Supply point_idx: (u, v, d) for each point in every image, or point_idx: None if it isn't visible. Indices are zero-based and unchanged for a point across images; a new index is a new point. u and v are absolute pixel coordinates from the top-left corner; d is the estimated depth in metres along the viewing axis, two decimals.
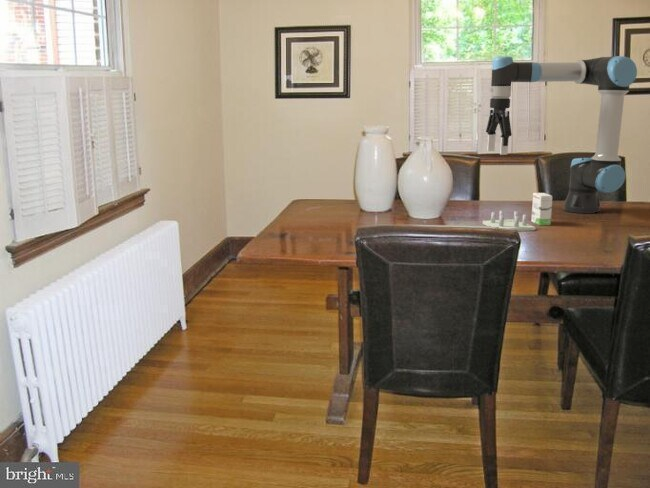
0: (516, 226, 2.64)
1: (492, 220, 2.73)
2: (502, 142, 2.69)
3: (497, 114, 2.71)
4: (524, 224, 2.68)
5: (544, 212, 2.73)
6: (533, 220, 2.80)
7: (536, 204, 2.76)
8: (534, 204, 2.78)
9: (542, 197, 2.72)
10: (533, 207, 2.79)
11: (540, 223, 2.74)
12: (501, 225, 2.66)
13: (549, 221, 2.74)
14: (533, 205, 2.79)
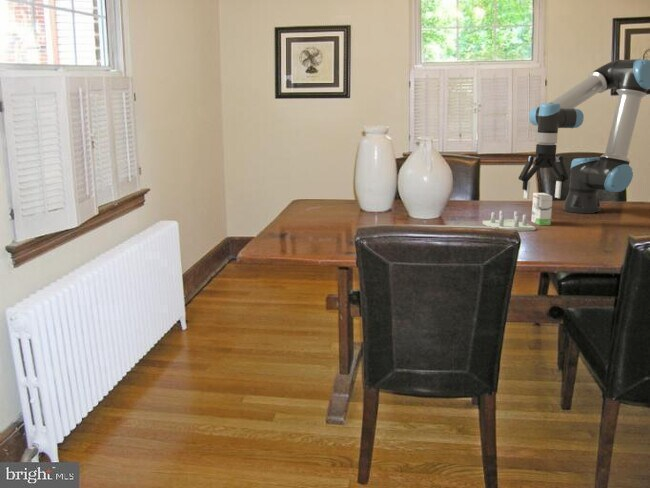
0: (516, 226, 2.64)
1: (492, 220, 2.73)
2: None
3: None
4: (524, 224, 2.68)
5: (544, 212, 2.73)
6: (533, 220, 2.80)
7: (536, 204, 2.76)
8: (534, 204, 2.78)
9: (542, 197, 2.72)
10: (533, 207, 2.79)
11: (540, 223, 2.74)
12: (501, 225, 2.66)
13: (549, 221, 2.74)
14: (533, 205, 2.79)
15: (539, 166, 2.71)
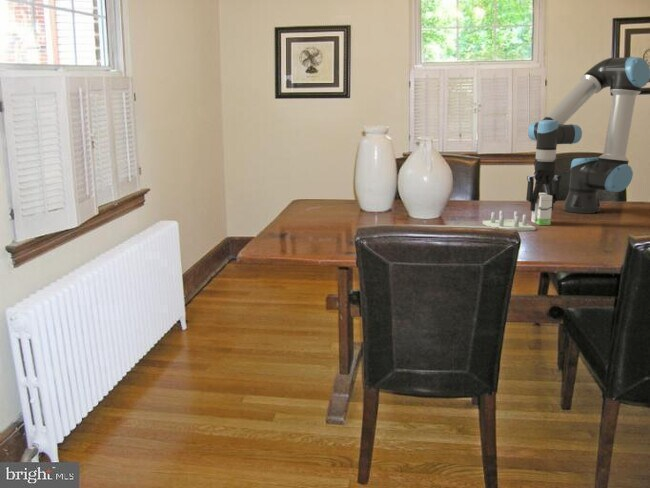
0: (516, 226, 2.64)
1: (492, 220, 2.73)
2: None
3: None
4: (524, 224, 2.68)
5: (544, 212, 2.73)
6: (533, 220, 2.80)
7: None
8: None
9: (542, 197, 2.72)
10: None
11: (540, 223, 2.74)
12: (501, 225, 2.66)
13: (549, 221, 2.74)
14: None
15: (541, 184, 2.73)
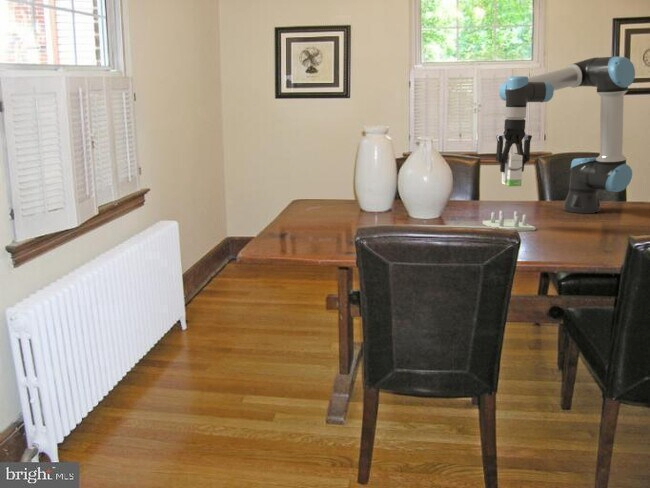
0: (516, 226, 2.64)
1: (492, 220, 2.73)
2: None
3: None
4: (524, 224, 2.68)
5: (514, 173, 2.62)
6: (503, 182, 2.69)
7: None
8: None
9: (512, 157, 2.61)
10: None
11: (510, 184, 2.63)
12: (501, 225, 2.66)
13: (519, 182, 2.63)
14: None
15: (510, 143, 2.62)
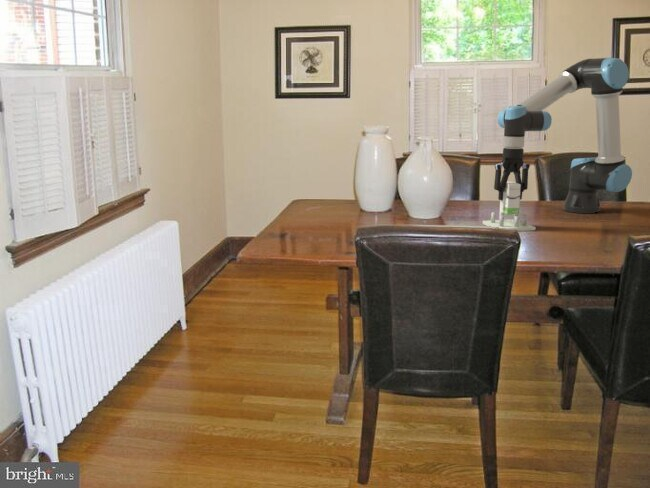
0: (516, 226, 2.64)
1: (492, 220, 2.73)
2: None
3: None
4: (524, 224, 2.68)
5: (512, 201, 2.65)
6: (501, 209, 2.71)
7: None
8: None
9: (510, 185, 2.63)
10: None
11: (508, 212, 2.66)
12: (501, 225, 2.66)
13: (517, 210, 2.66)
14: None
15: (508, 172, 2.64)
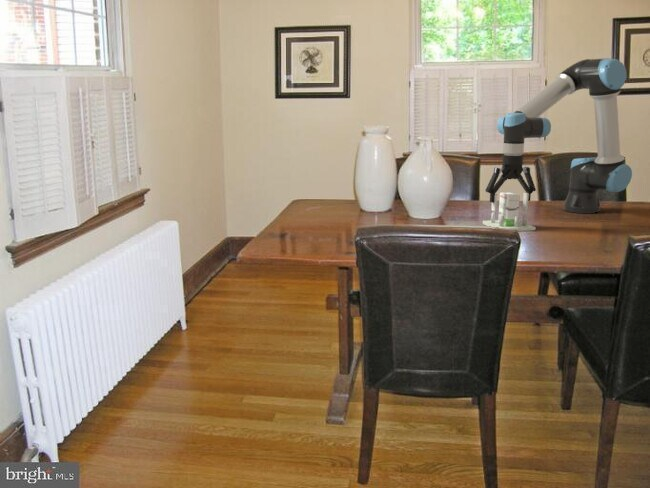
0: (516, 226, 2.64)
1: (492, 220, 2.73)
2: None
3: None
4: (524, 224, 2.68)
5: (512, 212, 2.66)
6: None
7: (503, 204, 2.68)
8: (501, 204, 2.70)
9: (509, 197, 2.64)
10: (500, 207, 2.72)
11: (508, 224, 2.66)
12: (501, 225, 2.66)
13: None
14: (500, 205, 2.72)
15: (506, 177, 2.65)
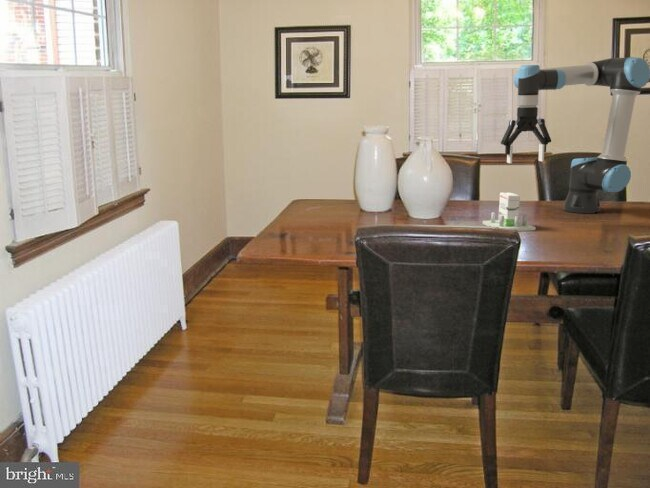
0: (516, 226, 2.64)
1: (492, 220, 2.73)
2: None
3: None
4: (524, 224, 2.68)
5: (512, 212, 2.66)
6: None
7: (503, 204, 2.68)
8: (501, 204, 2.70)
9: (509, 197, 2.64)
10: (500, 207, 2.72)
11: (508, 224, 2.66)
12: (501, 225, 2.66)
13: None
14: (500, 205, 2.72)
15: (521, 129, 2.67)
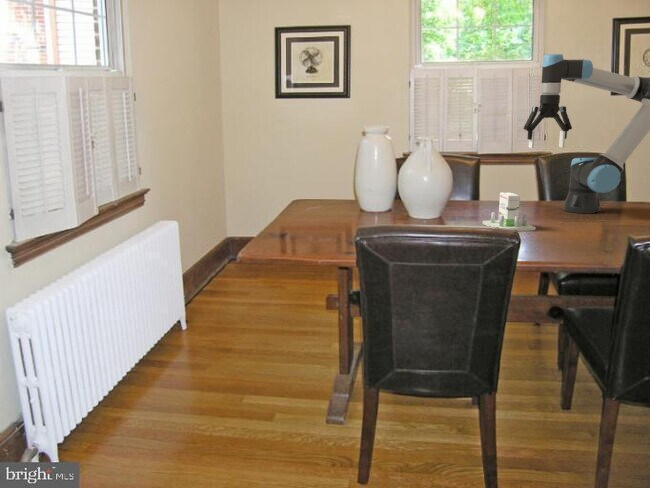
0: (516, 226, 2.64)
1: (492, 220, 2.73)
2: None
3: None
4: (524, 224, 2.68)
5: (512, 212, 2.66)
6: None
7: (503, 204, 2.68)
8: (501, 204, 2.70)
9: (509, 197, 2.64)
10: (500, 207, 2.72)
11: (508, 224, 2.66)
12: (501, 225, 2.66)
13: None
14: (500, 205, 2.72)
15: (543, 116, 2.80)
